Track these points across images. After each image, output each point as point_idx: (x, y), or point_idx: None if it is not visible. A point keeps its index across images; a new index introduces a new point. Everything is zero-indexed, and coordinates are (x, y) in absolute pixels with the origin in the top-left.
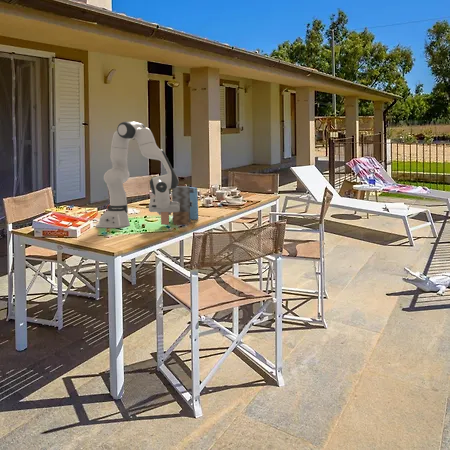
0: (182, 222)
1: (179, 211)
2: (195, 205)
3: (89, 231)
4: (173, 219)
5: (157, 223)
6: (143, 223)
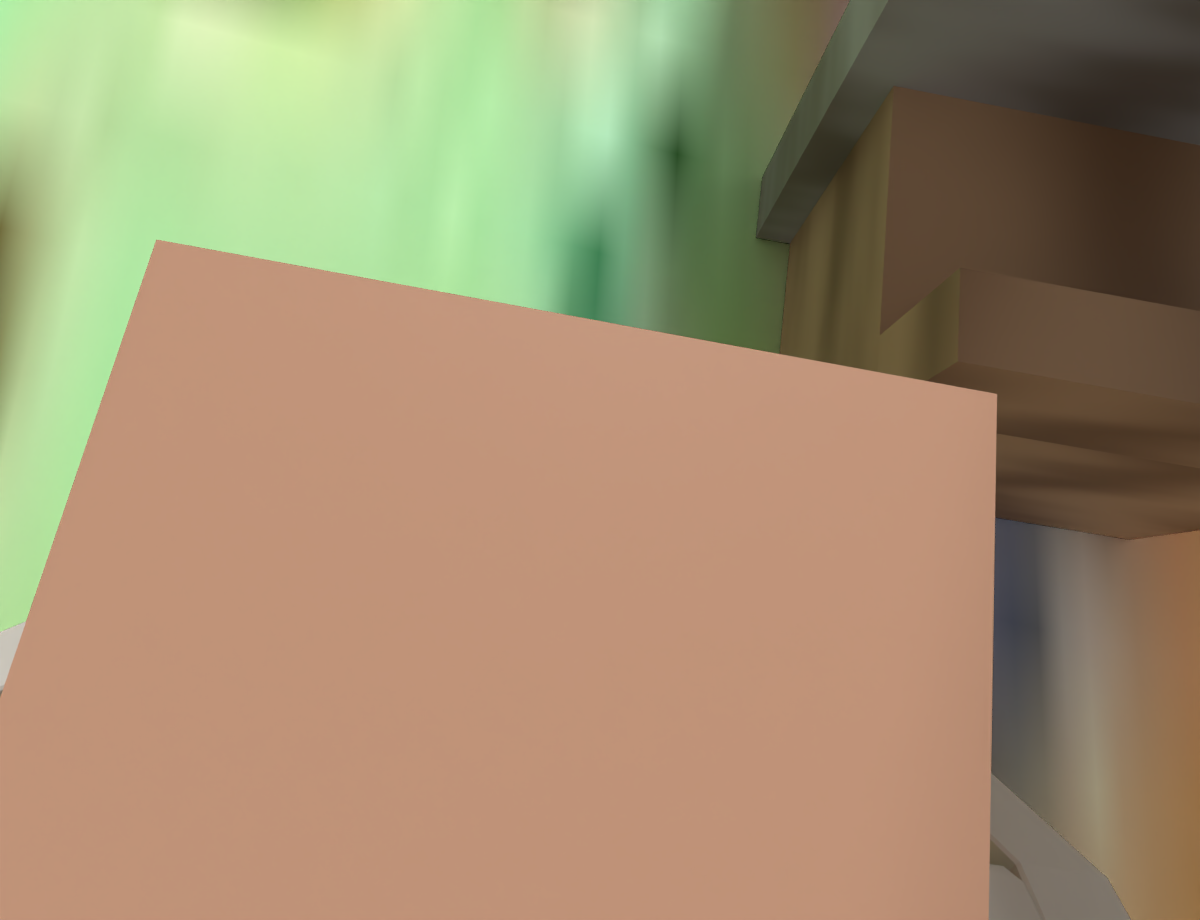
0: (1023, 504)
1: (1152, 41)
2: None
3: None
4: (799, 186)
5: (376, 194)
6: (26, 102)
